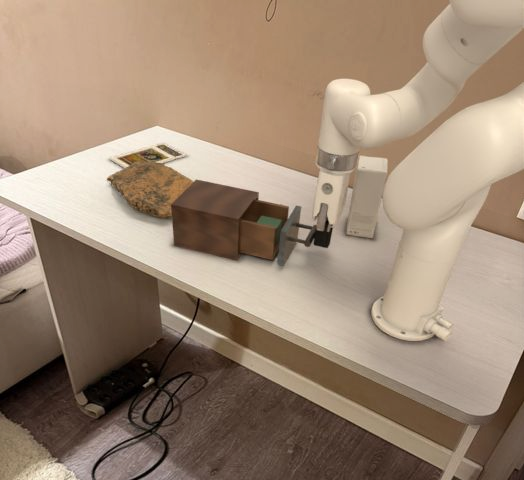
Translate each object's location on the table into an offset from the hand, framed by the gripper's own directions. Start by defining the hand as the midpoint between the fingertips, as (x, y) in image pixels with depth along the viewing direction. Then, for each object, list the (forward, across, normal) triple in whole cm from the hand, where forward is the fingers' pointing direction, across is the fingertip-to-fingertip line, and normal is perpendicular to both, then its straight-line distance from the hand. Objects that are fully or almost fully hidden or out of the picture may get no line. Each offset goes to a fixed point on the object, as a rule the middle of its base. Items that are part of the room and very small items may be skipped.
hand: (321, 244), depth 101 cm
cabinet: (+4, 0, +23) cm, 24 cm away
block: (+2, 0, +12) cm, 12 cm away
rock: (+5, +11, +45) cm, 47 cm away
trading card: (+5, +31, +57) cm, 65 cm away
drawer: (+3, 0, +11) cm, 11 cm away
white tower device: (+4, +17, -6) cm, 19 cm away
